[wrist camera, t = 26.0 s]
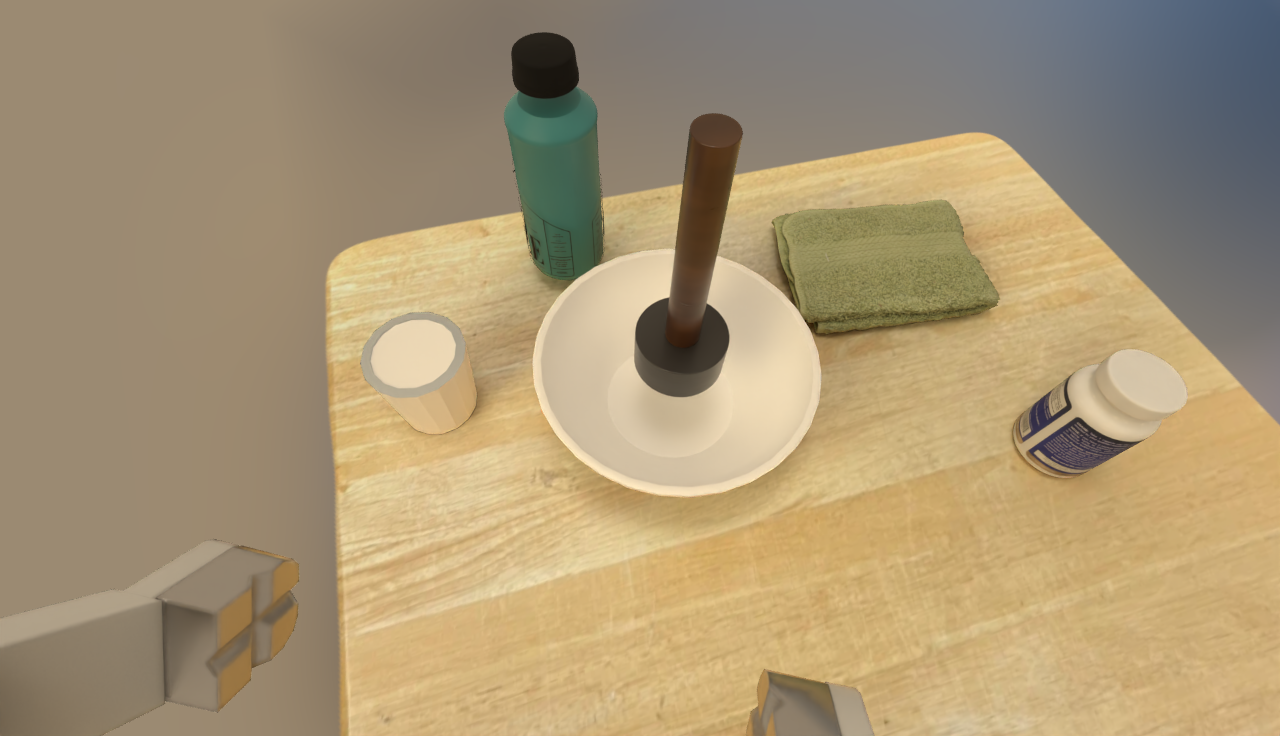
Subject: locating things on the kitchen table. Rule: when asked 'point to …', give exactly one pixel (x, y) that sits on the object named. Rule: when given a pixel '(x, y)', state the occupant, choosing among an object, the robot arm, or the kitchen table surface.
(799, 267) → the washcloth
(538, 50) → the beverage bottle
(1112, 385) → the pill bottle
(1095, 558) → the kitchen table surface
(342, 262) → the kitchen table surface
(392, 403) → the shot glass
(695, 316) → the paper towel holder
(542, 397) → the bowl
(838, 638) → the kitchen table surface
